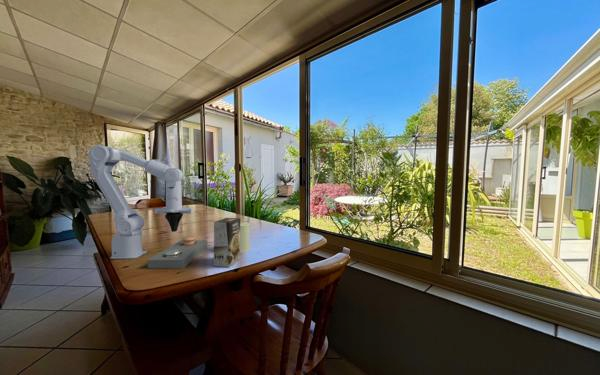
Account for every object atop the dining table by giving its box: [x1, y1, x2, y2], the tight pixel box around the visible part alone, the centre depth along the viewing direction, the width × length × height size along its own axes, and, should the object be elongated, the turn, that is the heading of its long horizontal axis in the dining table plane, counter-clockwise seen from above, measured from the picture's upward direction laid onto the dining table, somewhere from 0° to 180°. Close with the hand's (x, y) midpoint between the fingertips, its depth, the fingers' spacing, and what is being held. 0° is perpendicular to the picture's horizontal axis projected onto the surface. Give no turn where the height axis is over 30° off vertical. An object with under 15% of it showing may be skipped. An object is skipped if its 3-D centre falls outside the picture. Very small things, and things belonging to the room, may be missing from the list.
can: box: [240, 221, 251, 254], centre depth 105 cm, size 9×9×12 cm
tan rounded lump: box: [181, 235, 196, 246], centre depth 104 cm, size 5×5×4 cm
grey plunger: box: [165, 249, 181, 257], centre depth 90 cm, size 5×5×4 cm
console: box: [147, 239, 208, 269], centre depth 97 cm, size 12×25×3 cm, turn 2°
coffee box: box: [213, 217, 241, 268], centre depth 90 cm, size 9×6×16 cm
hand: (174, 231), depth 99 cm, fingers closed
